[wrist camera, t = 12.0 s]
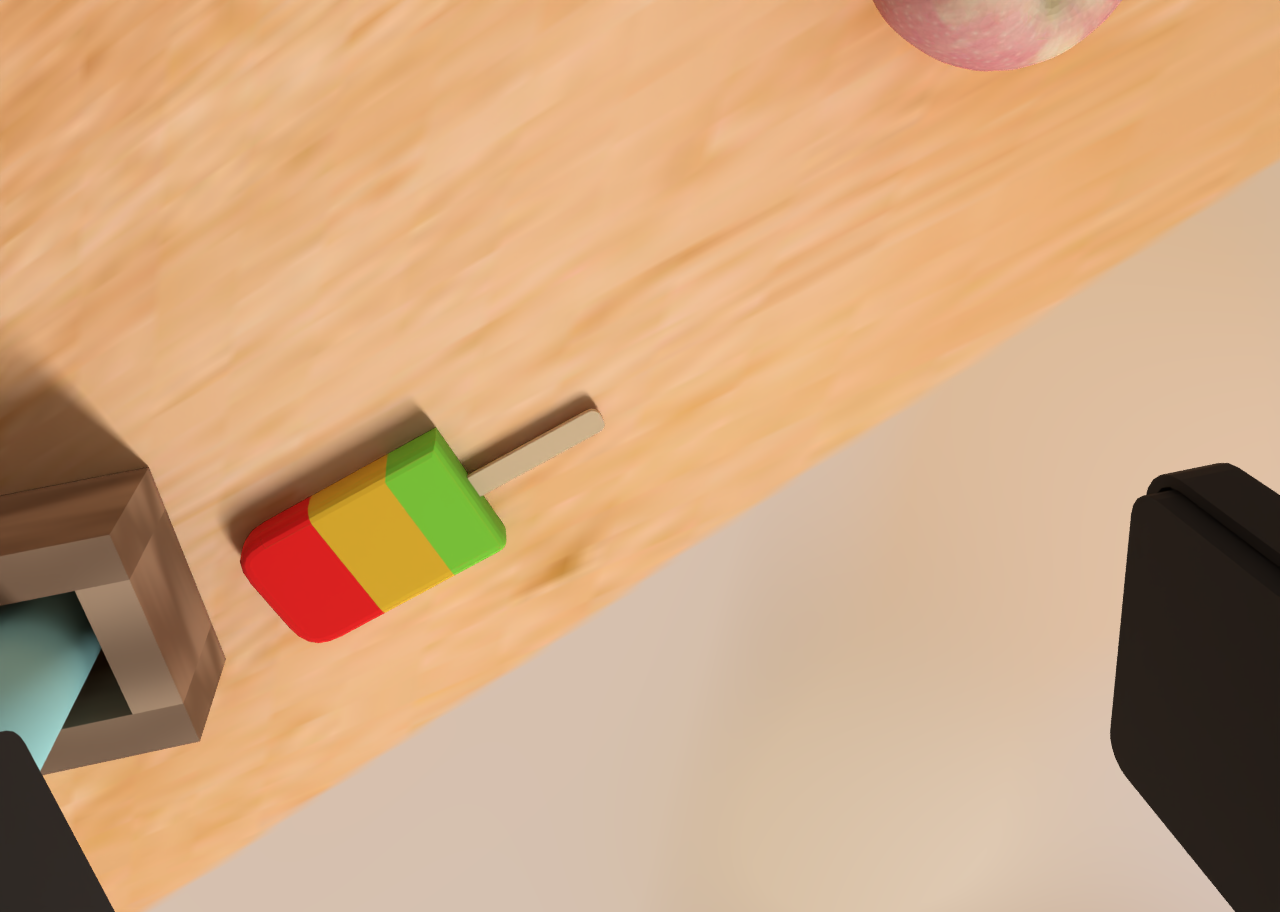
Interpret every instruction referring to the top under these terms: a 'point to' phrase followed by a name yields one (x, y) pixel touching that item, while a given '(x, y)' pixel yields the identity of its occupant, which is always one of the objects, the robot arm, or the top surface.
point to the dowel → (43, 667)
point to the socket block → (116, 612)
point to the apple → (994, 29)
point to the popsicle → (388, 531)
